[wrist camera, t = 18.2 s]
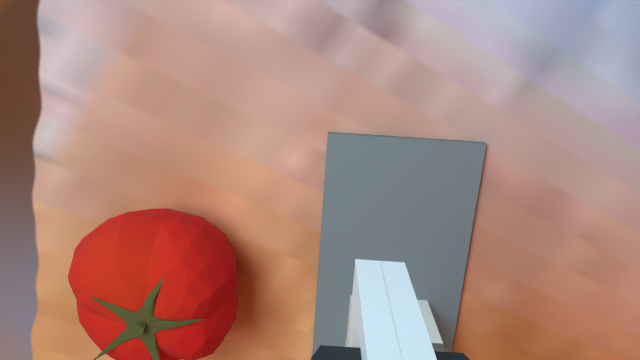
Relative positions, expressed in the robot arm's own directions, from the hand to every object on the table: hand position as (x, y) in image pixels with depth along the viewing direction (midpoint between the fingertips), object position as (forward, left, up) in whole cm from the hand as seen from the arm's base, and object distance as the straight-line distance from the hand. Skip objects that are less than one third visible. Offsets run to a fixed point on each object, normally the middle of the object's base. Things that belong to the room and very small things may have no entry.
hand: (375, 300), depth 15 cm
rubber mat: (-5, +14, -26) cm, 30 cm away
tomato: (+14, +12, -27) cm, 32 cm away
